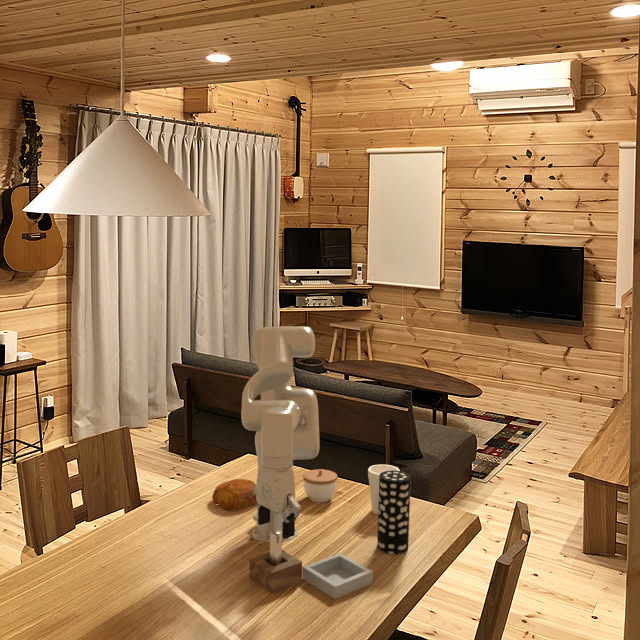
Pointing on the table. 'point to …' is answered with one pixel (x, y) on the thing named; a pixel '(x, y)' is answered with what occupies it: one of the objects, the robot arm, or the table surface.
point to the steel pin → (275, 547)
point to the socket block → (275, 572)
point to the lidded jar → (320, 484)
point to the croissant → (234, 494)
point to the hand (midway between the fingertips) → (276, 530)
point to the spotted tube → (393, 512)
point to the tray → (337, 575)
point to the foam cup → (377, 483)
